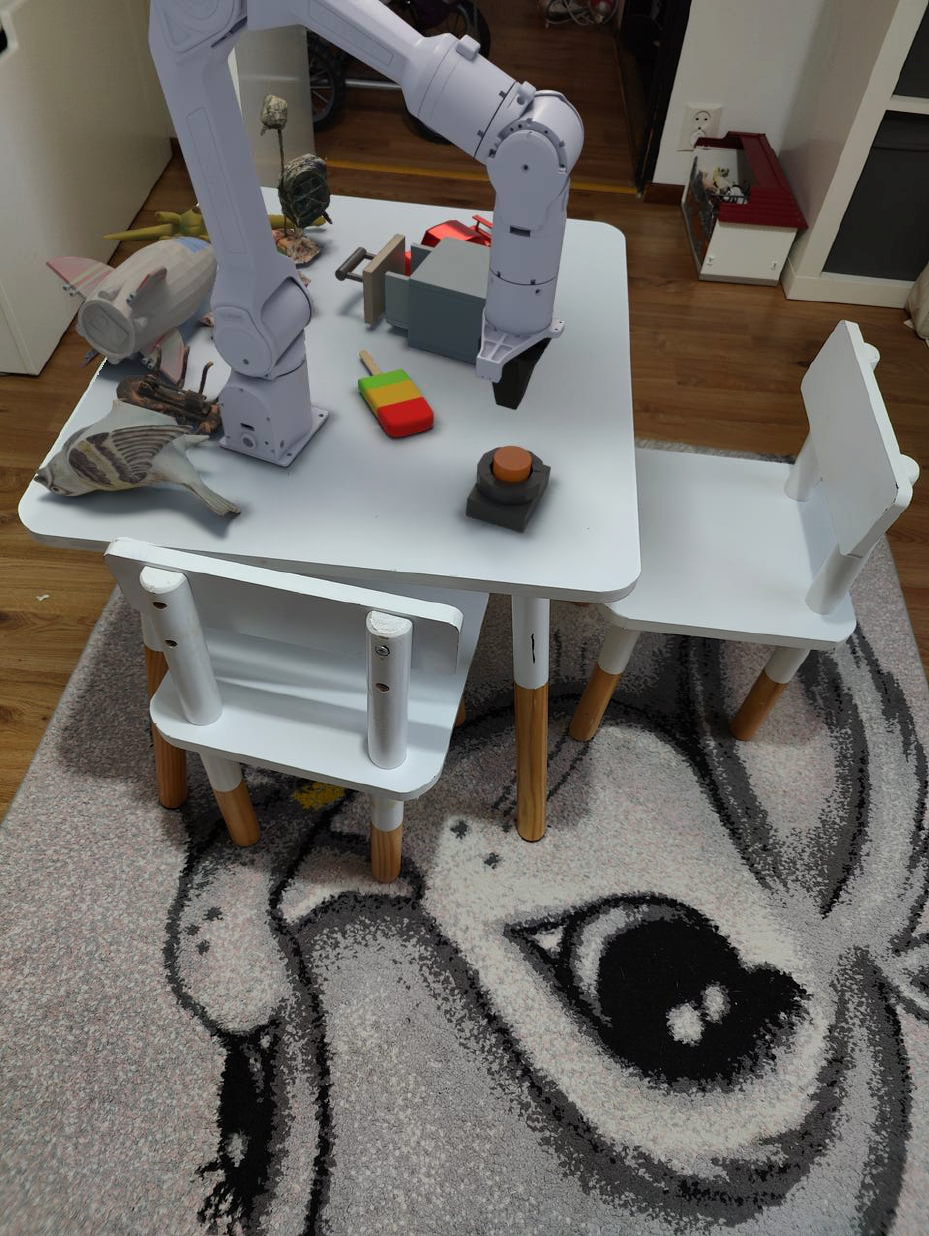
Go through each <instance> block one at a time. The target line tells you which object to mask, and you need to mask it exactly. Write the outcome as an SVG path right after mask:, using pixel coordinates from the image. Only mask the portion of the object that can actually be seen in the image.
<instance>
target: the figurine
mask: <svg viewBox="0 0 929 1236" xmlns="http://www.w3.org/2000/svg"><path fill="white" fill-rule="evenodd" d="M193 429H194V428H193V426H192V425H186V426H182V425H181V424H178V422H177V420H176V421H175V420H174V419H173V418H172V417H171V415H168V414H162V413H158V412H155V411H152V410H148V409H145V408H141V407H138V406H135V405H131V404H128V403H124V402H121V401H118V399H113V400H112V408H111V410H110V412H109V413H107V414H106V415H105V416H104V417H103V418H101V419H99V420H98V421H96V422H95V423H93V424H90V425H88V426H84V427H82V428H80V429H78V430H77V431H75V432H73V433H72V434H71V435H70V436H69V437H68V438H67V439H66V441H64V443H63V445H62V447H61V450H60V451H58V452H57V453H56V454H55V455H53V457H52V458H51V459H50V460H49V462H48V463H47V464H46V465H45V466H43V467H41V468H38V469H36V470H34V473H35V474H36V475H35V476H34V477H33V478H32V479H33V481H35V482H36V483H38V484H40V485H41V486H44V487H45V488H46V489H47V490H48V491H49V492H51V493H53V494H55V495H60V496H65V497H80V496H84V495H85V494H88V493H91V492H94V491H97V490H102V491H111V492H112V491H113V492H114V491H120V490H127V489H128V490H129V489H132V488H139V487H145V486H150V485H155V484H158V483H164V482H165V483H171V484H175V485H177V486H180V487H182V488H185V489H187V490H188V491H189V492H191V493H192V494H193V495H194V496H195V497H196V498H197V499H199V500H200V501H201V502H202V503H203V504H204V505H205V506H206V507H207V508H209V509H210V510H211V511H212V512H214V514H217V515H218V516H224V515H225V514H227V513H228V512H233V513H235V514H236V513H237V514H238V513H239V514H240V513H241V512H242V508H241V507H239V506H238V505H237V504H235V503H233V502H231V501H230V500H229V499H226V498H224V497H223V496H221V495H220V494H218V493H217V492H215V491H214V490H213V489H211V488H209V486H208V485H206V483H205V482H204V481H203V479H202V478H201V476H200V474H199V473H198V472H197V470H196V468H195V467H194V465H193V464H192V462H191V461H190V459H189V457H188V455H187V453H186V452H187V451H188V450H189V449H191V448H192V447H193V446H197V445H199V444H201V443H204V442H206V441H207V440H209V438H210V436H209V434H205V435H204V434H203V435H202V434H200V435H194V434H189V435H186V434H184V433H186V432H188V433H189V432H191V431H192V430H193Z"/></svg>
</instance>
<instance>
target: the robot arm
mask: <svg viewBox="0 0 929 1236" xmlns="http://www.w3.org/2000/svg"><path fill="white" fill-rule="evenodd" d="M149 4H150V5H149V22H148V45H149V50H150V54H151V59H152V60H153V64H154V68H155V70H156V74H157V77H158V79H159V83H160V86H161V89H162V92H163V95H164V99H165V101H166V105H167V108H168V112H169V115H170V117H171V121H172V124H173V127H174V131H175V133H176V137H177V140H178V144H179V146H180V149H181V152H182V155H183V159H184V162H185V165H186V169H187V172H188V174H189V178H190V181H191V184H192V188H193V191H194V194H195V197H196V200H197V203H198V206H200V210H201V213H202V216H203V219H204V222H205V225H206V229H207V232H208V235H209V238H210V241H211V244H212V248H213V251H214V254H215V257H216V260H217V263H218V266H217V273H216V276H215V280H214V284H213V289H212V293H211V297H210V302H209V307H210V309H211V312H213V316H214V329H213V336H212V340H213V345H214V347H215V349H216V351H217V353H218V354H219V356H220V358H221V359H222V360H223V361H224V362H225V363H226V364H227V365H228V366H229V367H230V369H231V370H230V373H229V376H228V379H227V381H226V383H225V384H224V386H223V387H222V389H220V392H219V393H220V394H219V393H218V395H219V398H218V401H219V402H218V404H219V407H220V413H221V418H222V423H223V425H222V428H223V432H224V435H223V436H222V437H221V439H219V446H220V447H222V448H226V449H229V450H231V451H234V452H237V453H241V454H244V455H246V456H250V457H253V458H257V459H259V460H263V461H266V462H269V463H272V464H275V465H278V466H280V467H281V466H282V467H288V466H289V465H290V464H291V463H292V462H293V460H294V459H295V458H296V457H297V455H299V453H300V452H301V451H302V450H303V448H304V447H305V446H306V444H307V443H309V441H310V440H311V438H312V437H313V436H314V435H315V433H316V432H317V431H318V430H319V429H320V427H321V426H322V425H323V424H324V422H326V420H327V419H328V417H329V412H328V411H327V410H325V409H321V408H319V407H315V406H312V400H311V399H312V398H311V391H310V390H311V389H310V378H309V371H308V370H309V369H308V360H307V349H306V343H305V341H306V334H305V328H306V327H308V326H309V325H310V324H311V322H312V320H313V318H314V315H315V304H314V299H313V296H312V295H311V292H310V291H309V289H308V287H307V288H306V286H305V285H304V284H303V282H302V281H301V279H300V277H299V275H298V272H297V271H298V270H297V266H296V265H297V264H295V262H294V260H293V259H291V258H289V257H287V256H285V255H283V254H281V253H279V252H278V251H277V248H276V244H275V240H274V236H273V233H272V231H273V230H272V229H271V225H270V221H269V217H268V215H269V214H268V210H267V206H266V202H265V198H264V195H263V191H262V187H261V183H260V179H259V177H258V172H257V168H256V164H255V160H254V156H253V152H252V149H251V145H250V142H249V137H248V133H247V130H246V126H245V122H244V118H243V115H242V110H241V106H240V103H239V99H238V95H237V91H236V88H235V83H234V81H233V76H232V73H231V68H230V65H229V64H230V63H229V56H230V55H231V53H232V52H233V50H234V48H235V47H236V45H237V44H238V42H239V40H240V39H241V38H242V36H243V34H244V32H245V31H246V29H247V30H248V31H249V32H255V31H262V30H268V29H269V30H270V29H275V28H281V27H289V26H295V25H300V26H304V27H305V28H307V29H309V30H311V31H312V32H314V33H315V34H317V35H319V36H320V37H322V38H323V39H325V40H327V41H328V42H330V43H332V44H333V45H335V46H336V47H338V48H339V49H341V50H343V51H344V52H346V53H348V54H349V55H351V56H353V57H354V58H356V59H358V60H359V61H361V62H363V63H364V64H366V65H367V66H369V67H370V68H371V69H373V70H375V71H377V72H378V73H380V74H381V75H384V76H385V77H387V78H388V79H390V80H392V81H393V82H395V83H396V84H398V85H399V86H400V88H401V91H402V93H403V97H404V101H405V105H406V108H407V110H408V112H409V113H410V114H411V115H412V116H413V117H415V118H417V119H419V121H421V122H422V123H424V124H425V125H426V126H428V127H429V128H431V129H432V130H434V131H435V132H436V133H438V134H439V135H441V136H442V137H444V138H445V139H446V140H448V141H449V142H451V143H452V144H454V145H455V146H457V147H458V148H459V149H460V150H462V151H464V152H465V153H467V154H468V155H470V156H471V157H472V158H474V159H475V160H477V161H478V162H479V163H481V164H483V165H485V166H486V171H487V176H488V179H489V181H490V183H491V185H492V187H493V189H494V190H495V201H494V206H493V210H492V222H491V223H492V229H491V247H490V259H489V270H488V283H487V295H486V306H485V307H484V309H483V314H482V335H481V336H480V338H479V340H478V352H479V354H478V356H477V360H476V364H475V372H474V373H475V374H474V376H475V377H476V378H479V379H482V380H485V381H488V382H491V386H492V391H493V396H494V401H495V404H496V406H500V407H502V408H506V409H510V410H513V411H517V410H518V408H519V406H520V404H521V403H522V402H523V399H524V397H525V395H526V392H527V389H528V387H529V383H530V381H531V379H532V375H533V372H534V370H535V368H536V366H537V363H538V362H539V361H540V360H541V357H542V356H543V355H544V353H545V351H546V349H547V348H548V346H549V345H550V343H551V342H552V340H553V339H555V340H556V339H560V337H561V336H562V334H563V333H564V331H565V327H566V322H565V321H564V320H563V319H560V318H557V317H556V316H555V310H554V307H555V299H556V293H557V285H558V279H559V274H560V273H559V272H560V266H561V260H562V252H563V247H564V238H565V233H566V232H565V231H566V227H567V226H566V225H567V220H568V219H567V218H568V213H567V212H568V211H567V206H568V203H569V193H570V185H571V177H569V175H570V174H571V171H572V169H573V168H574V166H575V165H576V163H577V161H578V159H579V158H580V155H581V152H582V149H583V146H584V140H585V130H584V129H585V128H584V123H583V120H582V118H581V116H580V114H579V112H578V111H577V109H576V108H575V107H574V105H573V104H572V103H571V102H569V100H568V99H567V98H566V97H565V95H564V94H563V93H561V92H559V91H556V90H551V89H543V90H542V89H541V90H537V89H536V87H535V86H533V84H531V83H529V82H528V81H527V80H525V81H524V82H523V83H520V82H518V81H517V80H516V79H514V78H513V77H512V76H511V75H509V74H507V73H506V72H505V71H503V70H502V69H500V67H498V66H497V65H495V64H493V63H492V62H491V61H489V60H488V59H487V58H485V57H484V56H483V55H481V54H480V53H478V52H479V51H480V48H481V44H480V43H479V42H478V41H477V40H475V39H474V38H472V37H471V36H469V34H465V35H463V37H462V38H457V37H456V36H455V35H453V34H452V33H451V32H447V33H442V34H439V35H434V36H429V37H425V36H424V35H422V34H421V33H419V32H418V31H417V30H416V29H415V28H413V27H412V26H411V25H410V24H409V23H407V22H406V21H405V20H403V19H402V17H400V16H399V15H397V14H396V13H395V12H394V11H393V10H391V9H390V8H389V7H388V6H386V5H385V4H384V3H382V2H381V1H380V0H150V3H149Z"/></svg>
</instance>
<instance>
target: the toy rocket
mask: <svg viewBox="0 0 929 1236" xmlns="http://www.w3.org/2000/svg"><path fill="white" fill-rule="evenodd" d="M45 265H46V267H48V268H49V269H50V270H51V271H52V272H53V273H54V274H56V275H57V276H58V278H59V279H61V280H62V281H63V282H64V283H65V284H63V285H62V289H63V291H64V292H68V291H69V292H68V295H69V296H70V297H71V298H74V297H75V296H76V295H78V296H79V297H80V298H81V299H82V300H84V301H83V303H82V304H81V306H80V307H79V310H78V313H77V323H76V324H75V331H76V333H77V334H78V335H79V336H81V337H83V338H84V339H85V340H86V342H87V343H88V344H89V345H90V346H91V347H92V349H90V350H88V351H87V354H86V355H84V360H83V362H82V363H80V366H79V367H78V368H80V369H85V368H86V367H87V366H89V365H90V364H91V363H92V362H93V361H94V360H96V358H98V357H99V356H100V355H103V356H105V357H106V360H107V362H109V363H110V364H112V365H117V364H119V363H120V362H121V361H122V360H124V359H125V358H127V357H130V356H132V355H135V354H136V353H139V352H140V353H141V354H142V355H143V356H144V357H143V358H142V359H141V362H142V364H144V365H147V368H148V369H149V370H153V369H155V365H156V361H157V348H156V345H157V344H159V345H160V346H161V350H162V360H161V365H160V368H159V372H161V373H162V374H163V375H164V376H166V378H168V379H169V380H170V381H171V382H172V383H173V384H174V385H176V384H177V383H178V382H180V379H181V373H182V366H183V356H184V351H185V344H184V341H183V338H182V336H181V333H180V331H179V329H178V327H179V326H180V325H182V324H183V323H185V322H186V321H187V320H189V319H190V318H191V317H192V316H193V315H194V314H195V313H196V312H197V311H198V310H199V308H200V307H201V306H202V305H203V303H204V302H205V300H206V298H207V297H208V295H209V293H210V291H211V289H212V288H213V286H214V283H215V281H216V277H217V272H218V263H217V260H216V257H215V254H214V251H213V248H212V244H209V243H208V242H206V241H204V240H201V239H199V238H194V237H179V238H172V239H169V240H161V241H159V240H157V241H156V242H154V243H153V242H152V243H151V244H148V245H146V246H144V247H142V248H140V249H139V250H137V251H135V252H134V253H133V254H131V255H130V256H129V257H128V258H126V259H125V261H123V262H122V263H120V264H119V265H118V266H117V267H115V268H114V267H112V266H110V265H108V264H106V263H104V262H101V261H98V260H94V259H92V258H87V257H83V256H73V255H72V256H71V255H70V256H58V257H56V258H53V259H50V260H48V261H46V262H45ZM70 289H71V290H70ZM147 363H148V364H147Z"/></svg>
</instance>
